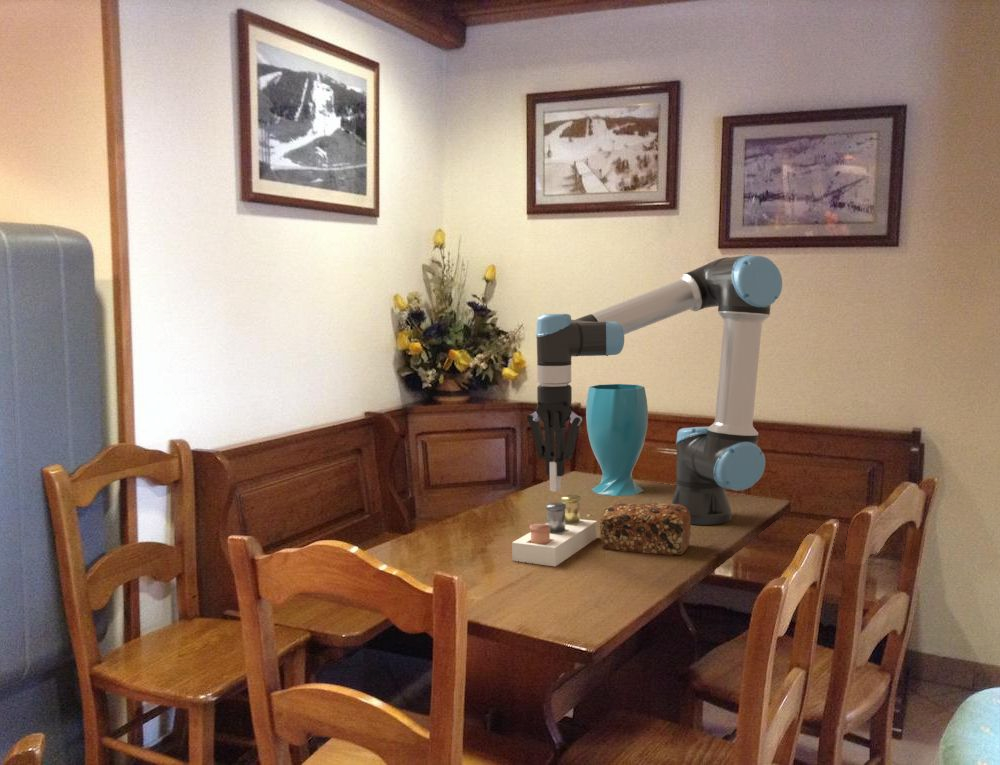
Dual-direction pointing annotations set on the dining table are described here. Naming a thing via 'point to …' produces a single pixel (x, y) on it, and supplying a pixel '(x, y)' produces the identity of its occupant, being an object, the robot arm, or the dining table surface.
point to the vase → (617, 434)
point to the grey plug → (556, 517)
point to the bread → (646, 528)
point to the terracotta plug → (540, 533)
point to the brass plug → (571, 508)
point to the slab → (555, 544)
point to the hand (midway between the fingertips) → (555, 490)
